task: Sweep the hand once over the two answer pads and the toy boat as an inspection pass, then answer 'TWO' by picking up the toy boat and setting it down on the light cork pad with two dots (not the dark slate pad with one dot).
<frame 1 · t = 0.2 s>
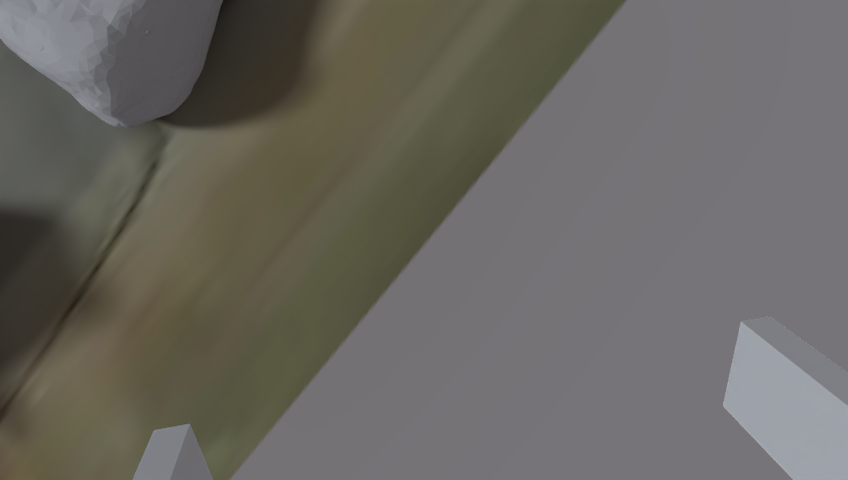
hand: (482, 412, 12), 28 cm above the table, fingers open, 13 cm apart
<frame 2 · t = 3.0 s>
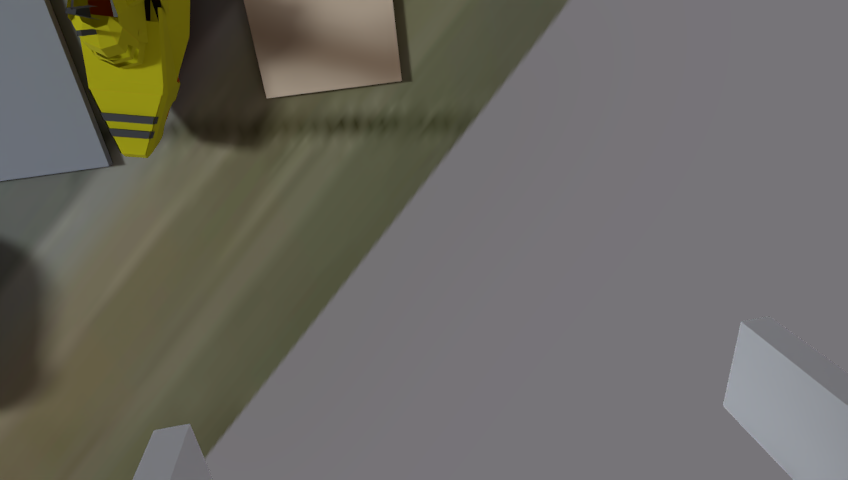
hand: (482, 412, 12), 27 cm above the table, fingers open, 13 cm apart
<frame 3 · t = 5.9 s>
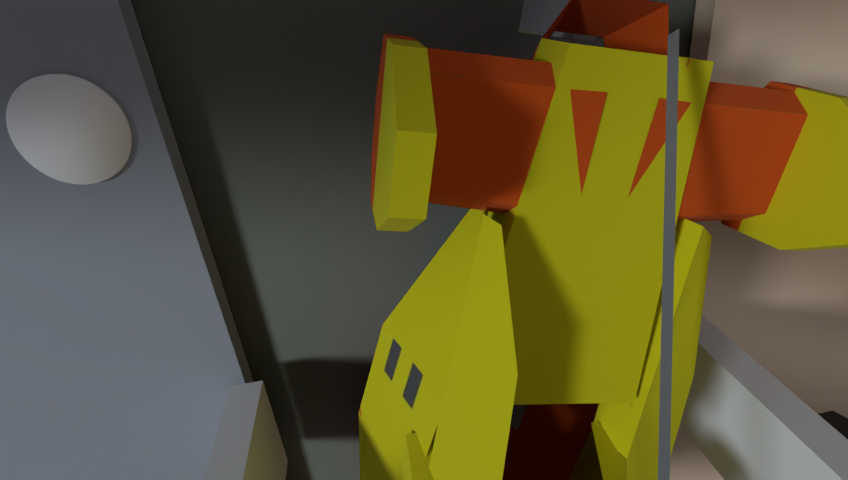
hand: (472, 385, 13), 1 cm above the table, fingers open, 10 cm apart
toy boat: (462, 355, 14), on the table
pad one: (79, 433, 13), on the table
pad two: (826, 206, 13), on the table
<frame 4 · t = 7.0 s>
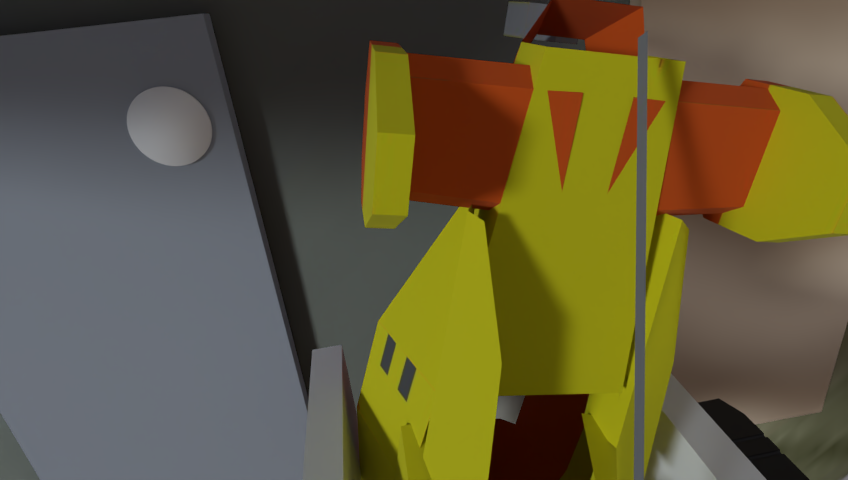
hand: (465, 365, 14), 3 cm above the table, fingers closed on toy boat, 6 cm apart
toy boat: (459, 351, 14), point 3 cm above the table, touching gripper
pad one: (154, 367, 16), on the table
pad two: (747, 191, 17), on the table
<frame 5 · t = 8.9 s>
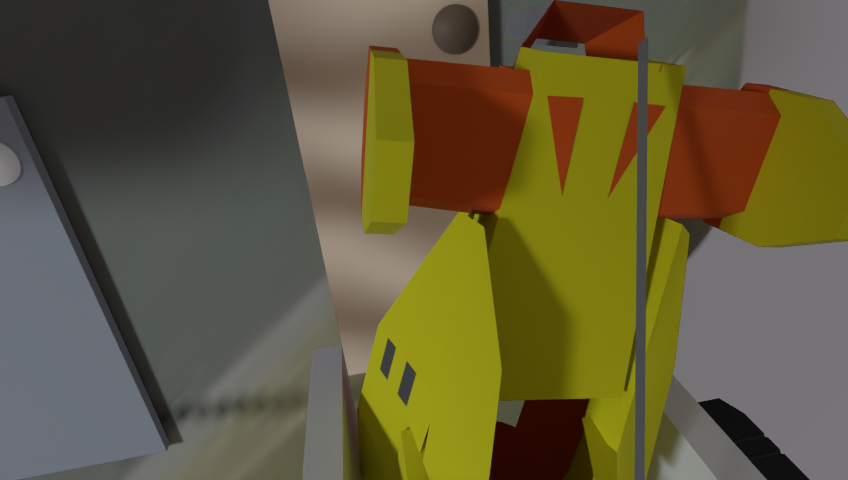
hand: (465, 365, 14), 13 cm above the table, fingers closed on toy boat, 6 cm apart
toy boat: (459, 354, 14), point 12 cm above the table, touching gripper
pad one: (8, 315, 25), on the table
pad two: (404, 197, 25), on the table
when the fingers open (2 cm above the table, at t = 10.7 s): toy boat stays where it is, resting on pad two.
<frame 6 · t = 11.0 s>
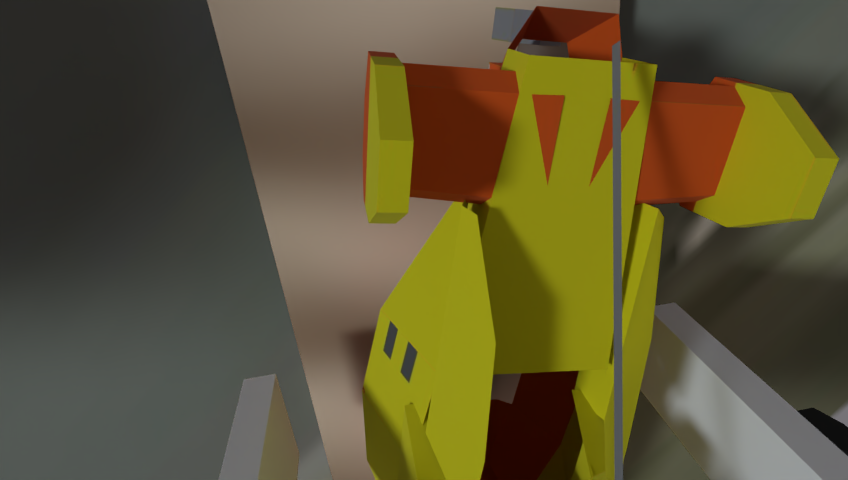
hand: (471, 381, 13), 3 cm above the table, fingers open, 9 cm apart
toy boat: (456, 336, 15), resting on pad two
pad two: (451, 324, 15), on the table
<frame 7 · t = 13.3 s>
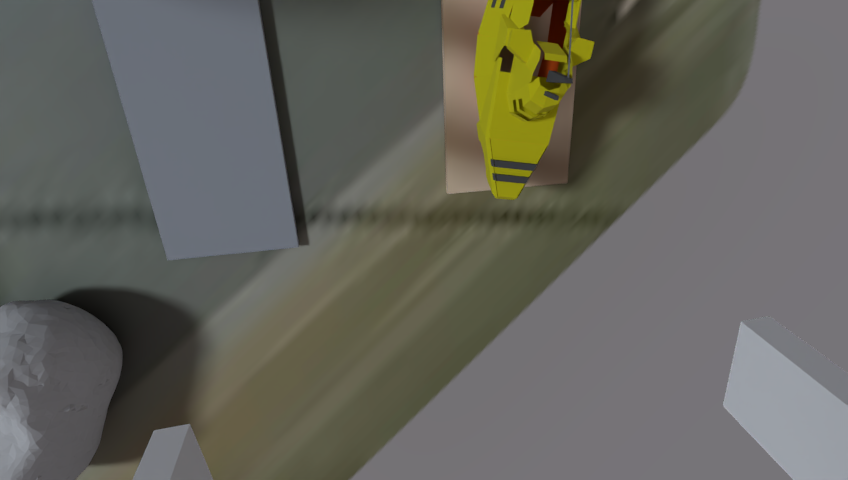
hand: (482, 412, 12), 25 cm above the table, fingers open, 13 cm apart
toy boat: (512, 43, 33), resting on pad two
pad one: (203, 108, 32), on the table
decorative stone: (47, 371, 38), on the table
pad two: (509, 40, 33), on the table
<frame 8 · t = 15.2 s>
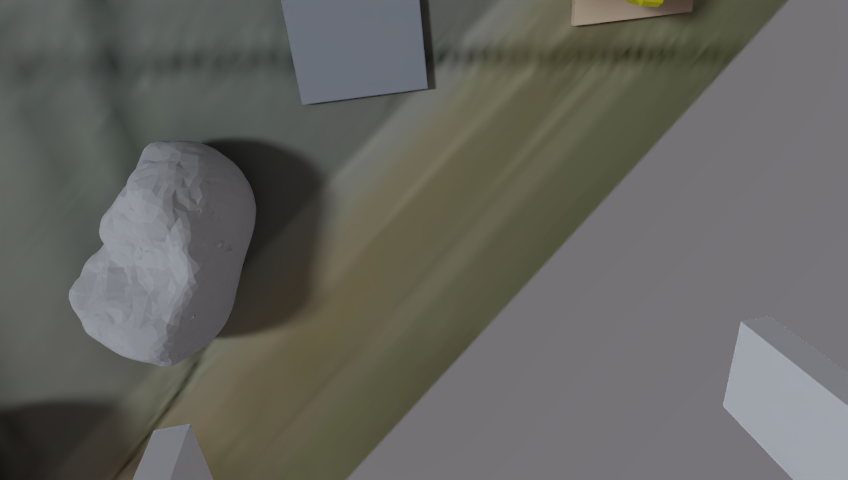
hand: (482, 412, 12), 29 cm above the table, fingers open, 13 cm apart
decorative stone: (179, 235, 39), on the table
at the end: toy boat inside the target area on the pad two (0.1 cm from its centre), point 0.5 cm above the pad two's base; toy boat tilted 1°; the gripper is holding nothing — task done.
